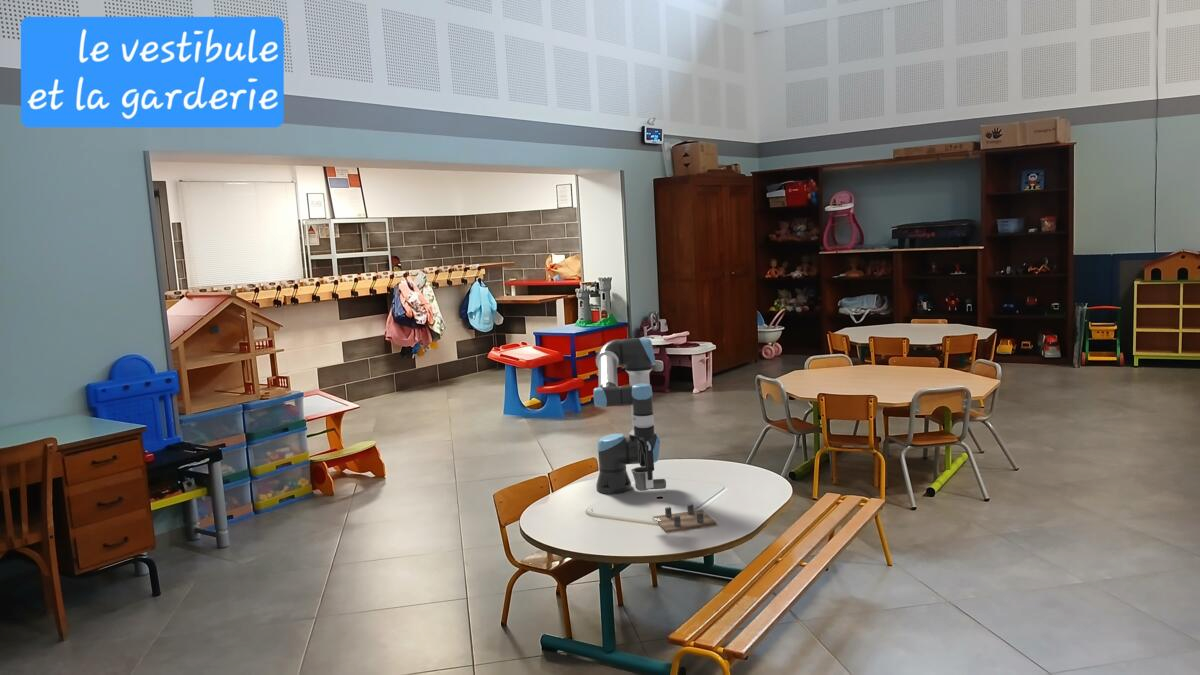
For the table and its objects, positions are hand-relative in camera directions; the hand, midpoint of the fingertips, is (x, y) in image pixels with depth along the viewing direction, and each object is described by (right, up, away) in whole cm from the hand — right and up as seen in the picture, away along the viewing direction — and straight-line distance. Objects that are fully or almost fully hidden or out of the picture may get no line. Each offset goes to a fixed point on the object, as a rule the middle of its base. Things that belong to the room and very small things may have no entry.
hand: (647, 485), depth 324 cm
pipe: (+1, -2, +1) cm, 2 cm away
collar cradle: (+14, -14, +1) cm, 20 cm away
